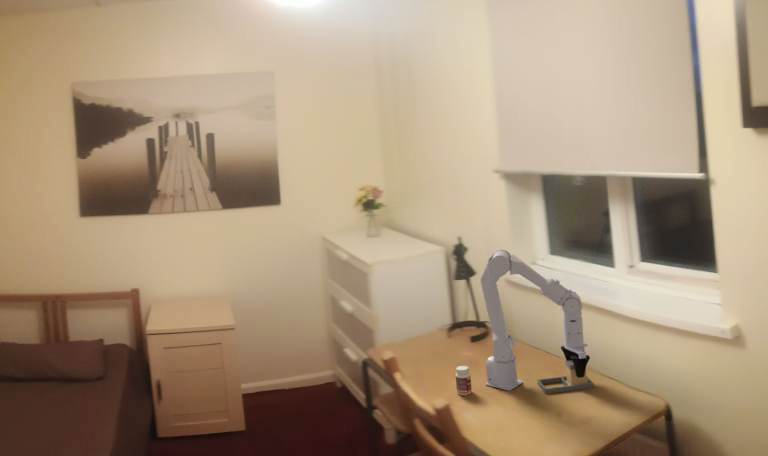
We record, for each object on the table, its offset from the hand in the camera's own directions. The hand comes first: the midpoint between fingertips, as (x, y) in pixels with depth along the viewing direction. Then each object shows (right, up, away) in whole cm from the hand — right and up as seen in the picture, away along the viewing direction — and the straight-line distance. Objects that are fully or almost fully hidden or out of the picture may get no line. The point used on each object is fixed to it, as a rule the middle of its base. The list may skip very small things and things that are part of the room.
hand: (576, 372), depth 204 cm
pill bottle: (-35, -8, +4) cm, 36 cm away
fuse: (0, -4, +1) cm, 4 cm away
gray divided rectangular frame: (-3, -4, 0) cm, 6 cm away
